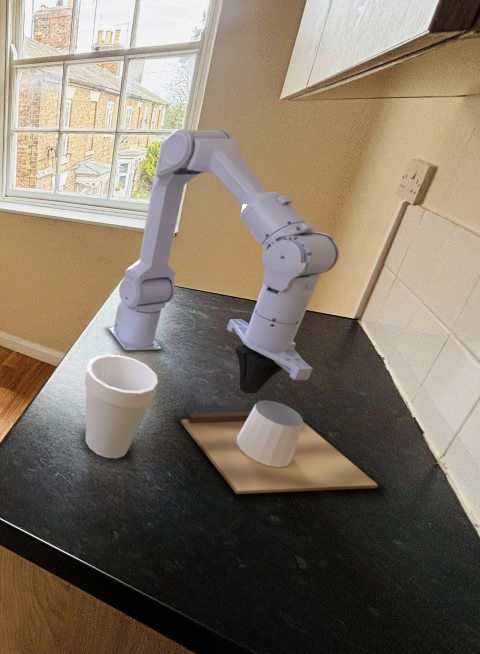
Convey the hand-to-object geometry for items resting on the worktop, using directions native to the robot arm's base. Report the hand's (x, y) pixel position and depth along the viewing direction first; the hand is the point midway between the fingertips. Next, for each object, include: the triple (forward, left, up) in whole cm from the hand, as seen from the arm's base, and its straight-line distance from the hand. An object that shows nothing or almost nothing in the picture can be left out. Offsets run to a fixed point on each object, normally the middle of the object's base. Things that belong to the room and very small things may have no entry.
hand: (248, 390), depth 65 cm
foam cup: (+4, -24, -6) cm, 25 cm away
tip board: (+7, 0, -6) cm, 9 cm away
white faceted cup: (+7, -1, +2) cm, 8 cm away
